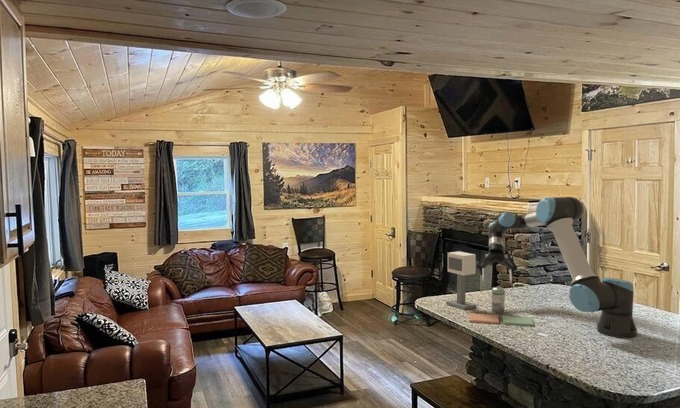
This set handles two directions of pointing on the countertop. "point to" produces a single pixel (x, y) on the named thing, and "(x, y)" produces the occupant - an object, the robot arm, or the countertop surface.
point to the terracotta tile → (484, 318)
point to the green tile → (517, 320)
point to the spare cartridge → (498, 300)
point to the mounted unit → (461, 276)
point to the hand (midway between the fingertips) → (496, 280)
